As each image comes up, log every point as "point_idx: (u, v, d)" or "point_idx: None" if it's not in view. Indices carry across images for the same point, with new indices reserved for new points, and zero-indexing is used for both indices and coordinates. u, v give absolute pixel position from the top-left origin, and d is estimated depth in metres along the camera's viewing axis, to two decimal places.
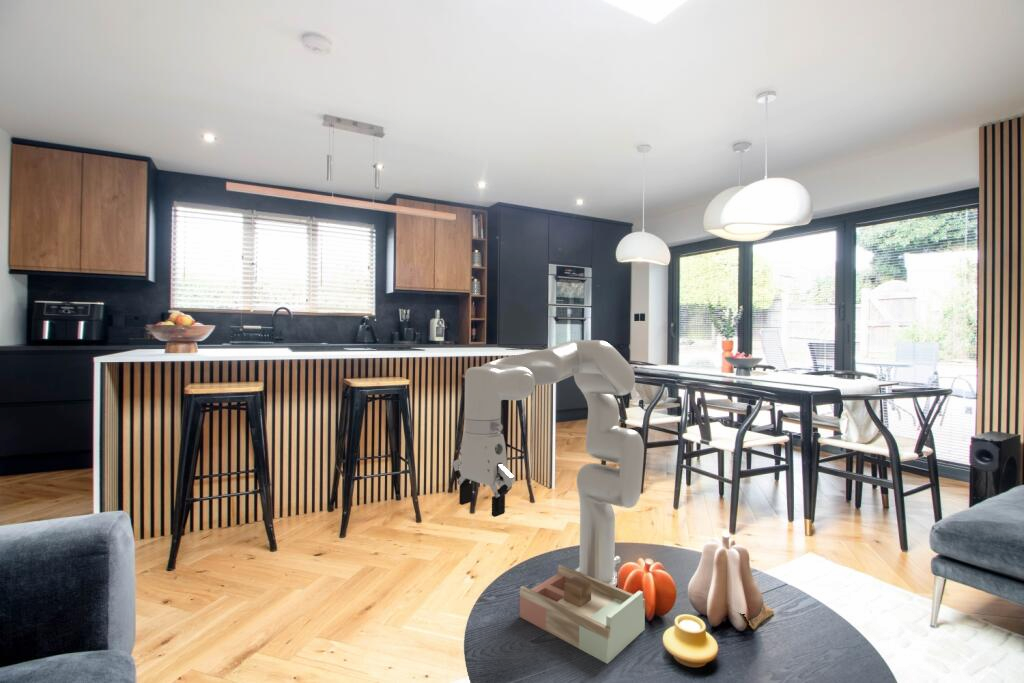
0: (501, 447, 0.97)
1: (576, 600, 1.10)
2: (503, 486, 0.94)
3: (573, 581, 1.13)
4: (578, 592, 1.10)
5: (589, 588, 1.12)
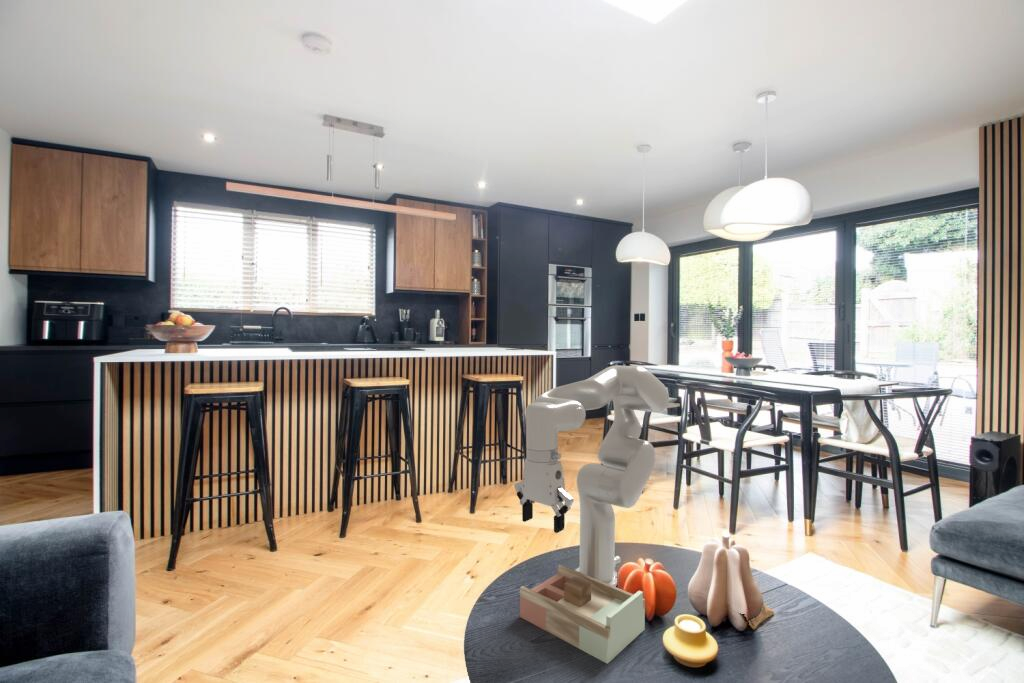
0: (560, 472, 1.12)
1: (576, 600, 1.10)
2: (564, 507, 1.10)
3: (573, 581, 1.13)
4: (578, 592, 1.10)
5: (589, 588, 1.12)
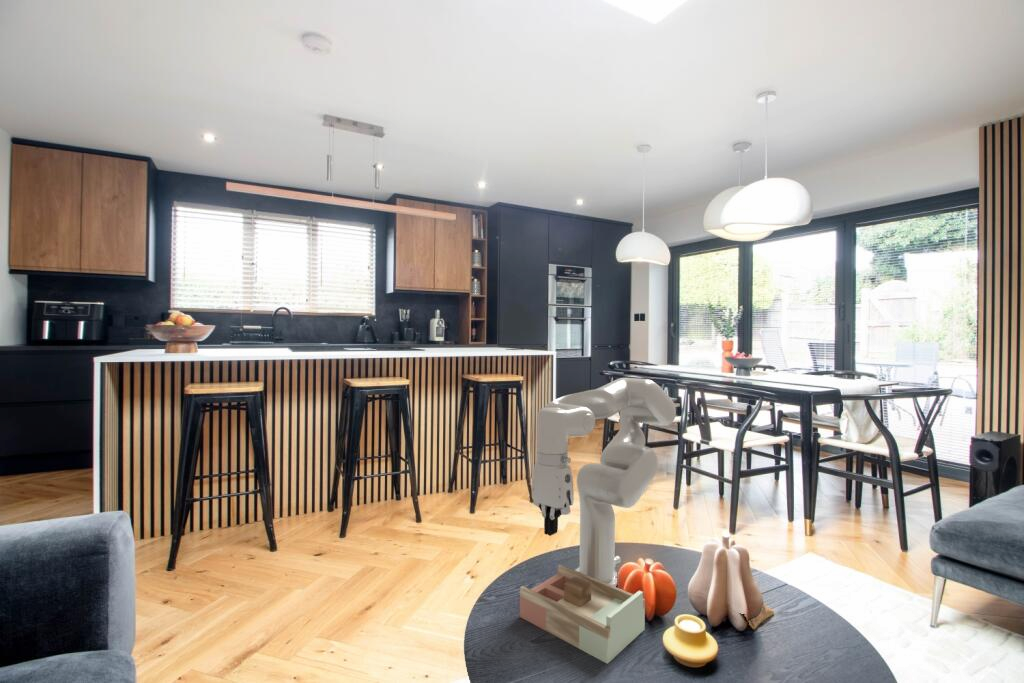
0: (569, 476, 1.15)
1: (576, 600, 1.10)
2: (557, 511, 1.15)
3: (573, 581, 1.13)
4: (578, 592, 1.10)
5: (589, 588, 1.12)
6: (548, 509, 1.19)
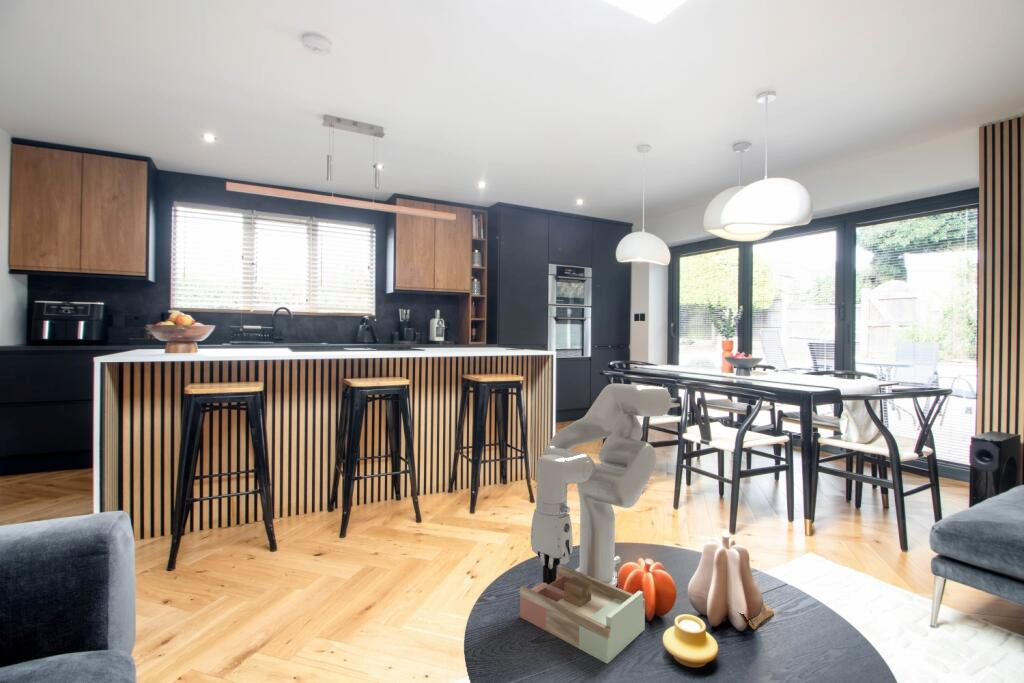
0: (568, 525, 1.15)
1: (576, 600, 1.10)
2: (556, 560, 1.15)
3: (573, 581, 1.13)
4: (578, 592, 1.10)
5: (589, 588, 1.12)
6: (547, 557, 1.19)
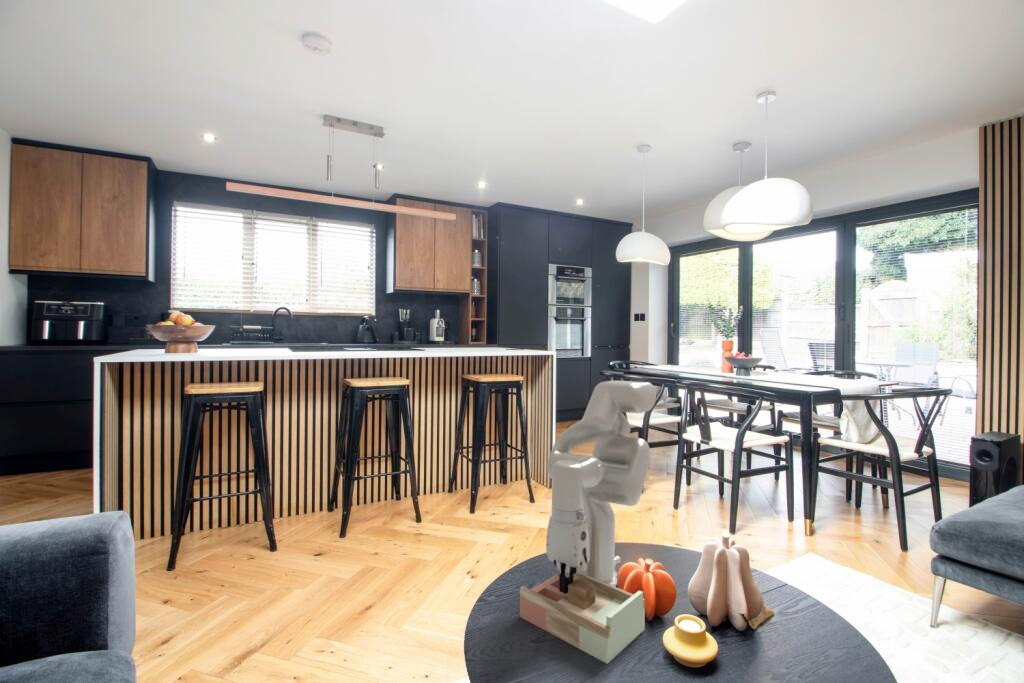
0: (585, 533, 1.12)
1: (580, 602, 1.09)
2: (573, 568, 1.12)
3: (577, 583, 1.12)
4: (582, 594, 1.09)
5: (593, 590, 1.11)
6: (563, 565, 1.16)
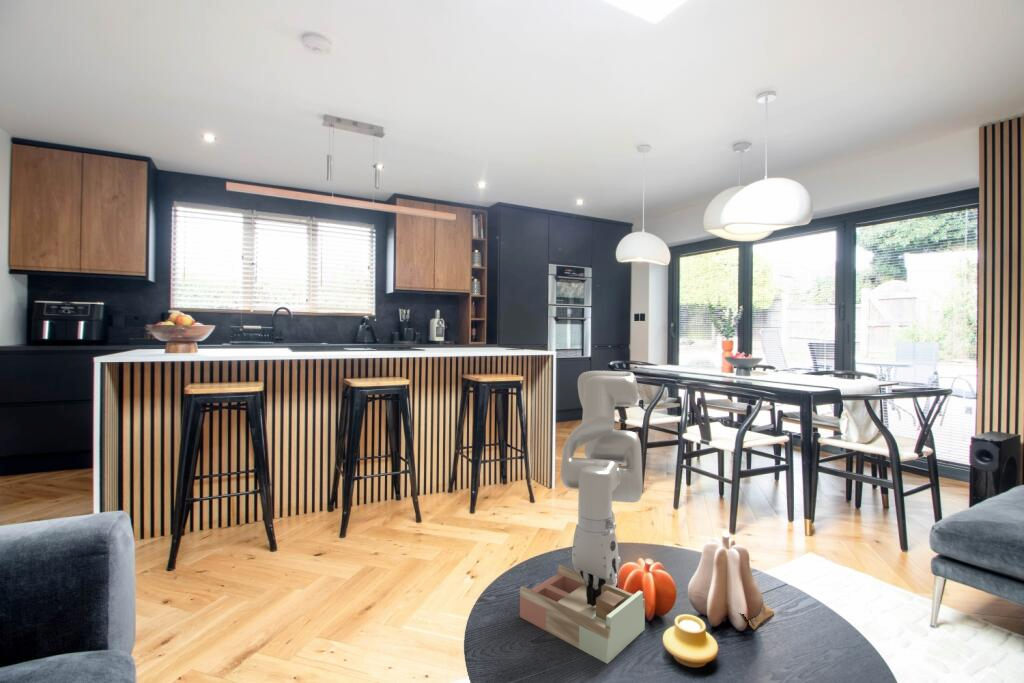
0: (614, 543, 1.07)
1: None
2: (602, 580, 1.07)
3: (605, 595, 1.07)
4: (611, 608, 1.03)
5: None
6: (590, 576, 1.10)
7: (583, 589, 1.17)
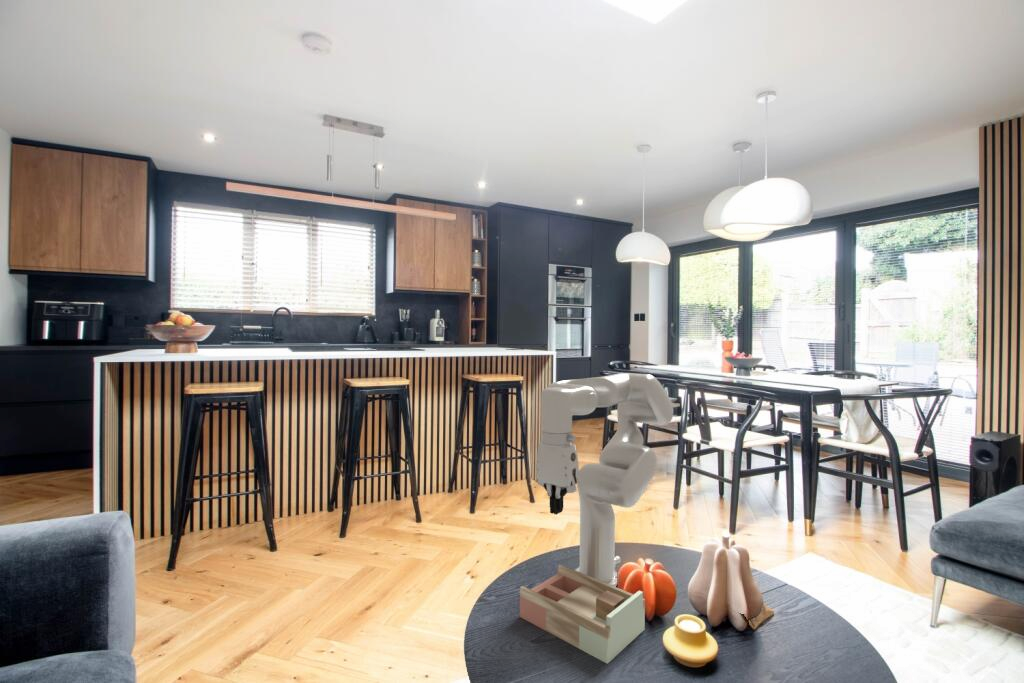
0: (574, 455, 1.16)
1: None
2: (563, 489, 1.16)
3: (605, 595, 1.07)
4: (611, 608, 1.03)
5: None
6: (553, 488, 1.19)
7: (583, 589, 1.17)
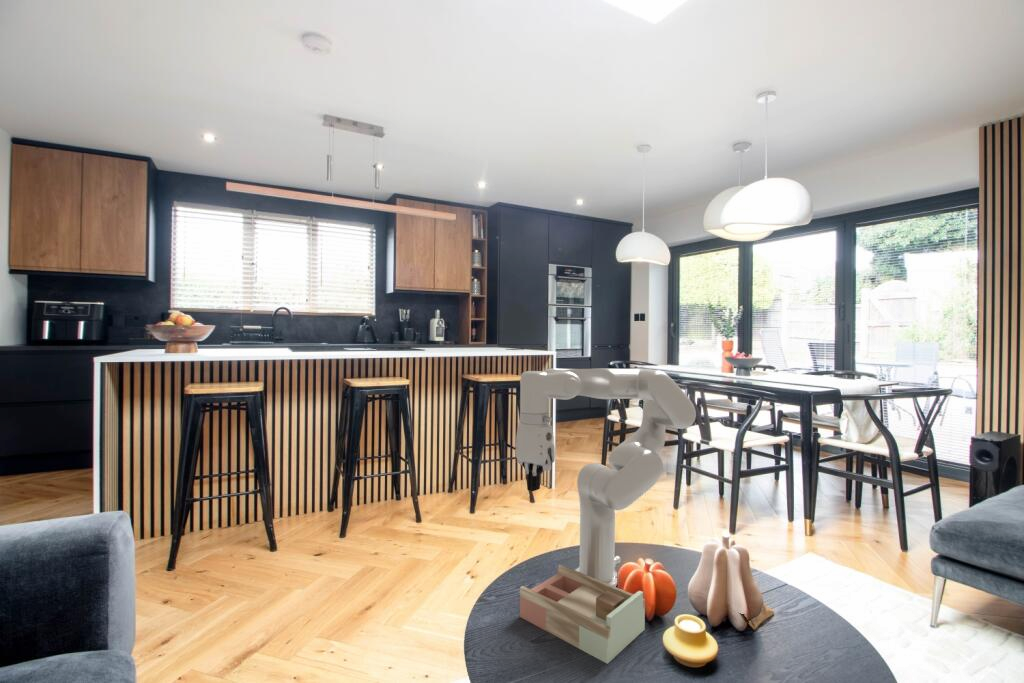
0: (550, 435, 1.22)
1: None
2: (539, 467, 1.22)
3: (605, 595, 1.07)
4: (611, 608, 1.03)
5: None
6: (531, 467, 1.25)
7: (583, 589, 1.17)
